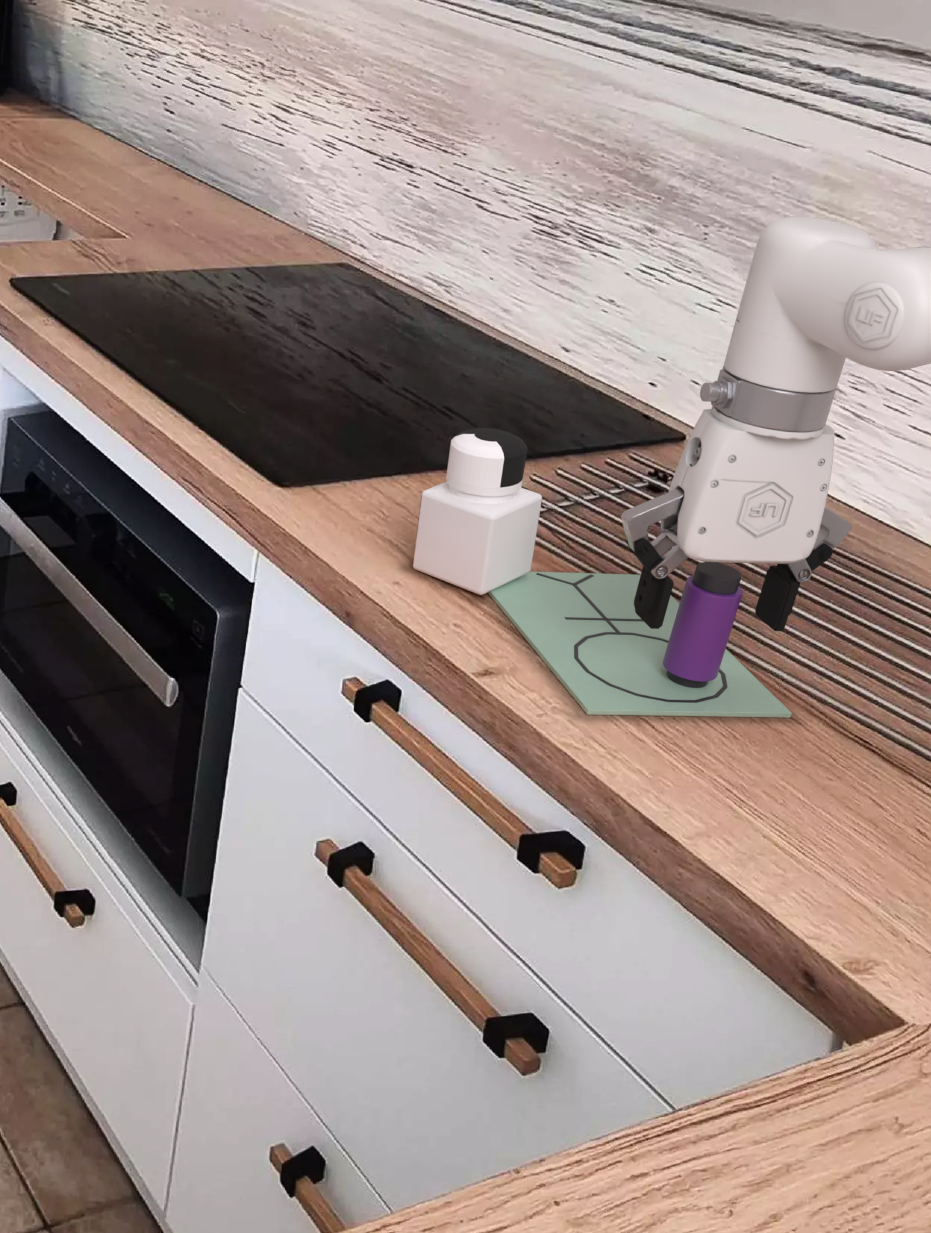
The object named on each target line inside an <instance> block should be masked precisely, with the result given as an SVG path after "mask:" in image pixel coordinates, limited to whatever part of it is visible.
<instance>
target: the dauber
mask: <svg viewBox="0 0 931 1233" xmlns="http://www.w3.org/2000/svg"><path fill="white" fill-rule="evenodd" d="M741 580H742V573H741V572H740V571H739V570H738V569H736V568H734V567H733V566H730V565H727V564H726V563H725V564H724V563H722V562H705V561H701V562H699V563H697V564H696V565H695V570H694V573H693V574H692V575H690V576H688V577H687V578H686V580H685V584H684V586H683V590H682V594H681V596H680V597H681V598H680V600H679V607H678V611H677V614H676V618H675V621H674V625H673V628H672V631H671V635H670V638H669V642H668V645H667V649H666V652H665V656H664V659H663V666H664V667H665V669H666V670H667V677H668V678H669V679H670V680H671V681H673V682H675V683H677V684H679V685H682V686H685V687H690V688H702V687H705V686H706V685H707V684H708V681H711V680H714V679H715V678H716V677H717V675H718V672H719V669H720V665H721V662H722V659H723V656H724V652H725V649H727V645H728V642H729V639H730V636H731V633H732V629H733V626H734V623H735V620H736V617H737V613H738V610H739V606H740V603H741V600H742V597H743V593H744V592H743V589H742V587H741V586H740V583H741Z"/></svg>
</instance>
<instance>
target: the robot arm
mask: <svg viewBox="0 0 931 1233" xmlns="http://www.w3.org/2000/svg"><path fill="white" fill-rule="evenodd" d="M846 359H848V360H851V361H852V362H854V363H856V364H858V365H861V366H864V367H866V368H868V369H869V368H870V369H873V370H877V371H884V372H898V371H905V370H911V369H916V368H919V367H923V366H926V365H927V366H928V365H930V364H931V243H930V244H925V245H920V246H913V247H909V248H907V247H906V248H895V249H877V246H876V243H875V240H874V238H873V237H872V236H871V235H870V234H869V233H868V232H866V231H864V230H863V229H860V228H858V227H856V226H853V225H850V224H846V223H843V222H838V221H834V220H829V219H824V218H817V217H805V216H789V217H782V218H777V219H775V220H773V221H771V222H770V223H768V224H767V225H766V226H765V227H764V228H763V230H762V231H761V233H760V235H759V236H758V239H757V243H756V245H755V249H754V252H753V256H752V259H751V263H750V266H749V271H748V274H747V278H746V281H745V285H744V288H743V292H742V296H741V298H740V303H739V307H738V310H737V313H736V318H735V321H734V325H733V329H732V333H731V337H730V340H729V344H728V347H727V351H726V355H725V359H724V362H723V366H722V368H721V369H720V370H719V373H718V375H717V376H718V377H717V380H715V381H713V382H703V384H702V385H701V387H700V392H699V394H700V395H699V397H700V399H701V401H702V402H707V403H708V402H709V403H710V405H711V408H705V409H703V410H702V413H701V415H700V416H699V417H698V419H697V422H696V423H695V425H694V427H693V429H692V431H691V433H690V435H689V437H688V439H687V442H686V444H685V446H684V448H683V451H682V453H681V455H680V457H679V461H678V463H677V466H676V468H675V471H674V475H673V477H672V479H671V482H670V485H669V489H668V492H666V493H663V494H661V495H659V496H656V497H654V498H651V499H649V500H646V501H645V502H642V503H640V504H637V505H634V506H633V507H630V508H628V509H626V510H624V511H623V512H622V514H621V516H620V519H621V524H622V527H623V531H624V534H625V536H626V545H627V546H628V547H629V549H630V550H631V552H632V553H633V555H634V556H635V557H636V559H637V561H638V562H639V563H640V564H641V566H642V569H641V573H640V575H641V576H640V580H639V583H638V587H637V591H636V595H635V598H634V607H635V612H636V614H637V615H638V616H639V617H640V618H641V619H642V620H643V621H644V622H645V623H646V624H647V625H648V626H649V627H650V628H651V629H659V628H660V627H662V625H663V621H664V617H665V614H666V610H667V607H668V603H669V599H670V596H672V593H673V592H672V591H673V588H674V583H675V582H674V580H673V579H672V578H671V577H670V576H669V575H670V574H671V573H672V572H674V571H675V570H676V569H677V568H679V567H680V566H681V565H682V564H683V563H684V562H685V561H687V560H688V559H689V558H690V559H692V560H694V561H699V562H715V563H729V564H730V563H731V564H767V565H768V564H771V565H769V568H768V569H767V570H766V573H765V576H764V580H763V583H762V586H761V589H760V593H759V596H758V600H757V602H756V603H757V604H756V606H755V610H754V614H755V615H756V616H757V617H758V618H759V619H760V620H761V621H762V622H764V624H766V625H767V626H768V627H769V628H770V629H771V630H773V631H774V632H784V630H785V628H786V624H787V622H788V619H789V616H790V615H791V614H792V612H793V608H794V605H795V602H796V598H797V596H798V592H799V589H800V586H801V584H802V583H806V582H808V581H809V580H810V579H811V577H812V575H813V571H815V570H816V569H817V568H819V567H820V566H821V565H823V564H824V563H826V562H827V561H828V560H829V559H830V558H832V556H833V554H834V549H837V547H839V545H840V544H841V543H842V541H844V539H845V538H846V537H847V536H848V535H849V533H850V532H851V531H852V527H853V526H852V524H851V522H850V521H848V520H846V519H845V518H843V517H842V516H841V515H839V514H838V513H836V512H835V511H833V510H831V509H830V508H829V507H828V506H826V503H827V498H828V494H829V489H830V484H831V478H832V473H833V472H832V471H833V463H834V462H833V461H834V452H835V429H834V428H833V427H831V426H830V425H828V424H827V421H828V418H829V414H830V411H831V408H832V405H833V401H834V398H835V395H836V392H837V387H838V384H839V382H840V379H841V375H842V372H843V368H844V365H845V362H846ZM659 522H660V532H661V533H660V534H659V535H658V536H656V538H654V539H653V540H652V541H650V538H649V528H650V527H651V526H652V525H655V524H656V523H659ZM773 564H775V565H773Z"/></svg>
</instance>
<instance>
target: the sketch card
mask: <svg viewBox="0 0 931 1233" xmlns="http://www.w3.org/2000/svg"><path fill="white" fill-rule="evenodd" d="M640 576H641V574H631V573H629V574H627V573H597V572H596V573H595V572H594V573H593V572H564V571H563V572H559V571H558V572H556V571H530V572H529V573H527V574H525V575H523V576H520V577H518V578H516V579H514V580H512V581H510V582H508V583H506V584H504V585H502V586H500V587H498V588H496V589H493V590H491V591H489V592H487V593H486V594H488V595H489V597H490V598H491V599H492V600H493V602H494V603H495V604H496V605H497V607H498V608H499V609H500V610H501V611H502V612H503V614H504V615H505V616H506V618H507V619H508V620H509V621H510V622H511V623H512V625H513V626H514V627H515V628H516V630H518V632H519V633H520V634H521V636H522V637H523V639H525V640H526V642H527V643H528V644H529V646H530V647H531V648H532V649H533V650H534V651H535V653H536V654H537V656H539V658H540V659H541V660H542V661H543V663H544V664H545V665H546V666H547V667H548V669H549V670H550V672H552V674H553V675H554V676H555V677H556V678H557V680H558V681H559V682H560V684H562V686H563V687H564V688H565V689H566V691H567V692H568V693H569V695H570V696H571V697H572V698H573V699H574V701H575V702H576V703H577V704H578V705H579V707H581V709H582V710H583V711H584V713H585V714H586V715H587V716H588V715H589V716H591V715H592V716H593V715H595V716H655V717H656V716H657V717H658V716H660V717H662V716H663V717H722V718H723V717H724V718H725V717H726V718H789V719H790V718H792V715H793V713H792V711H790V709H788V707H786V706H785V704H783V703H782V702H781V701H780V700H779V699H778V698H777V697H776V696H775V694H773V693H772V692H771V691H770V690H769V689H768V688H767V687H766V686H765V685H764V684H763V683H762V682H761V681H760V680H758V678H757V677H756V676H755V675H754V674H753V673H752V672H750V670H748V669H747V668H746V667H745V666H744V664H742V663H741V662H740V661H739V660H738V659H737V658H736V657H735V655H733V654H732V653H731V652H730V651H729V650H728V649H727V648H726V649H725V652H724V656H723V659H722V662H721V665H720V669H719V672H718V675H717V677H716V678H715V679H714V680H711V681H708V684H707V685H706V686H705V687H702V688H690V687H685V686H682V685H679V684H677V683H675V682H673V681H671V680H670V679H669V678H668V677H667V670H666V669H665V667H664V666H663V659H664V656H665V652H666V649H667V645H668V642H669V638H670V635H671V631H672V628H673V625H674V621H675V618H676V614H677V611H678V607H679V604H680V602H678V601H677V600H676V598H675V597H673V596H672V595H671V596H670V599H669V603H668V607H667V610H666V614H665V617H664V621H663V625H662V627H660V628H659V629H651V628H650V627H649V626H648V625H647V624H646V623H645V622H644V621H643V620H642V619H641V618H640V617H639V616H638V615H637V614H636V612H635V607H634V598H635V595H636V591H637V587H638V583H639V580H640Z"/></svg>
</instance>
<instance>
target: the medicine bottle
mask: <svg viewBox="0 0 931 1233" xmlns="http://www.w3.org/2000/svg"><path fill="white" fill-rule="evenodd" d="M527 454H528V446H527V444H526V443H525V441H524V439H522V438H520V437H519V436H517V435H515V434H513V433H512V432H509V431H506V430H502V429H498V428H491V427H490V428H489V427H478V428H477V427H476V428H470V429H467V430H462V431H460V432H458V433H456V434H455V435H454V436H453V437H452V438H451V440H450V446H449V454H448V461H447V468H446V477H445V478H446V479H445V480H446V481H445V482H442V483H439V484H436V485H435V486H432V487H429V488H426V489H425V490H423V491H422V492H421V495H420V503H419V504H420V505H419V510H418V511H419V512H418V513H419V514H418V520H417V528H416V536H415V544H414V552H413V561H412V567H413V569H414V570H416V571H417V572H421V573H423V574H425V575H428V576H431V577H434V578H436V579H438V580H441V581H443V582H446V583H449V584H450V585H453V586H456V587H458V588H461V589H463V590H466V591H468V592H471V593H473V594H477V595H479V596H483V595H486V594H488V593H487V592H489V591H491V590H493V589H496V588H498V587H500V586H502V585H504V584H506V583H508V582H510V581H512V580H514V579H516V578H518V577H520V576H523V575H525V574H527V573H529V572H531V570H532V565H533V564H532V563H533V558H534V551H535V546H536V538H537V533H538V527H539V520H540V514H541V509H542V502H543V501H542V500H543V496H542V494H540V493H539V492H536V491H532V490H530V489H529V490H528V489H527V488H524V487H523V480H524V474H525V467H526V461H527Z"/></svg>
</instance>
